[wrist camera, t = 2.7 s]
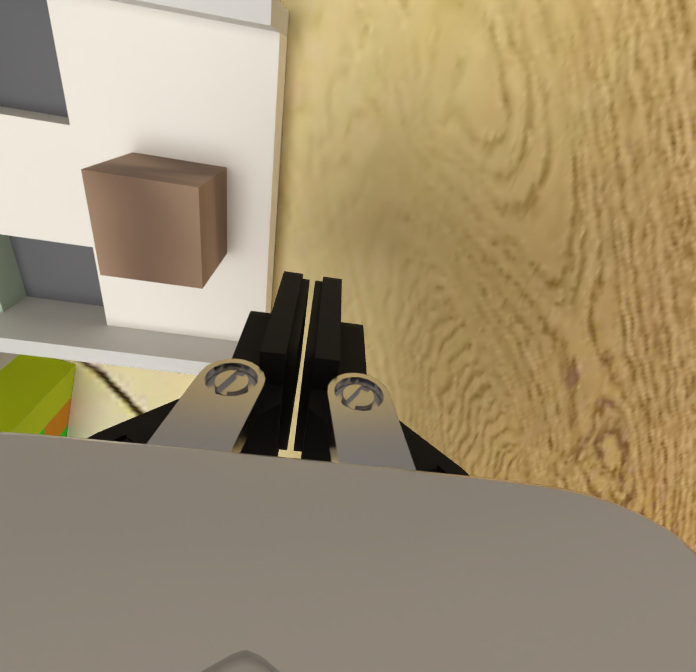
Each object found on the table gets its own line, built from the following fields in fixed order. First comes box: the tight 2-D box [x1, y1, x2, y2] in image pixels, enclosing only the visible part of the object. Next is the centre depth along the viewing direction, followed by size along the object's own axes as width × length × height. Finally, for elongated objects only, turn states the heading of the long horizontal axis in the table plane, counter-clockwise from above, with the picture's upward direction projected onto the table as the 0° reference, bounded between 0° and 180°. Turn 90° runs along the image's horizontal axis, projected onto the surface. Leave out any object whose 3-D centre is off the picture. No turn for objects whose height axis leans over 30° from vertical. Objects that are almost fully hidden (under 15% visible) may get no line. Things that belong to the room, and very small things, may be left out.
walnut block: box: [81, 152, 227, 289], centre depth 19 cm, size 4×4×4 cm
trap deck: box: [0, 0, 289, 375], centre depth 20 cm, size 23×18×6 cm
